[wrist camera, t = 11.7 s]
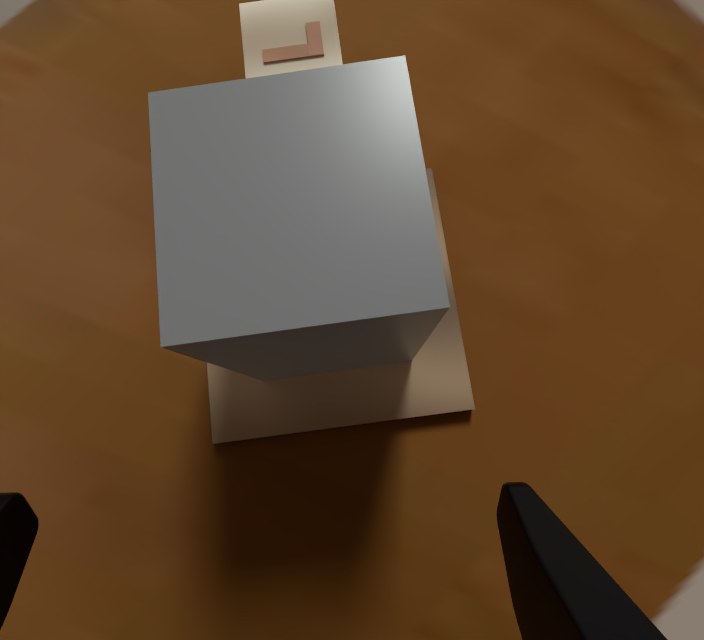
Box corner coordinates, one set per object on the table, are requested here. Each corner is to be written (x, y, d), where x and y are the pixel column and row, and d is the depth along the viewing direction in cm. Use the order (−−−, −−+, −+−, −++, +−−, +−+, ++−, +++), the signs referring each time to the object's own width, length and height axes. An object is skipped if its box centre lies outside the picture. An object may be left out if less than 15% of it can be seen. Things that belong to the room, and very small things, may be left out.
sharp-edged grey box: (411, 360, 20) (450, 307, 10) (263, 380, 20) (160, 346, 10) (389, 220, 21) (405, 55, 12) (249, 240, 22) (148, 92, 12)
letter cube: (348, 130, 23) (343, 70, 19) (267, 141, 23) (245, 83, 19) (338, 60, 24) (332, -12, 20) (260, 71, 24) (238, 1, 20)
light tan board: (471, 409, 20) (474, 409, 20) (216, 443, 20) (212, 443, 20) (430, 174, 22) (431, 167, 22) (200, 206, 23) (195, 200, 22)
